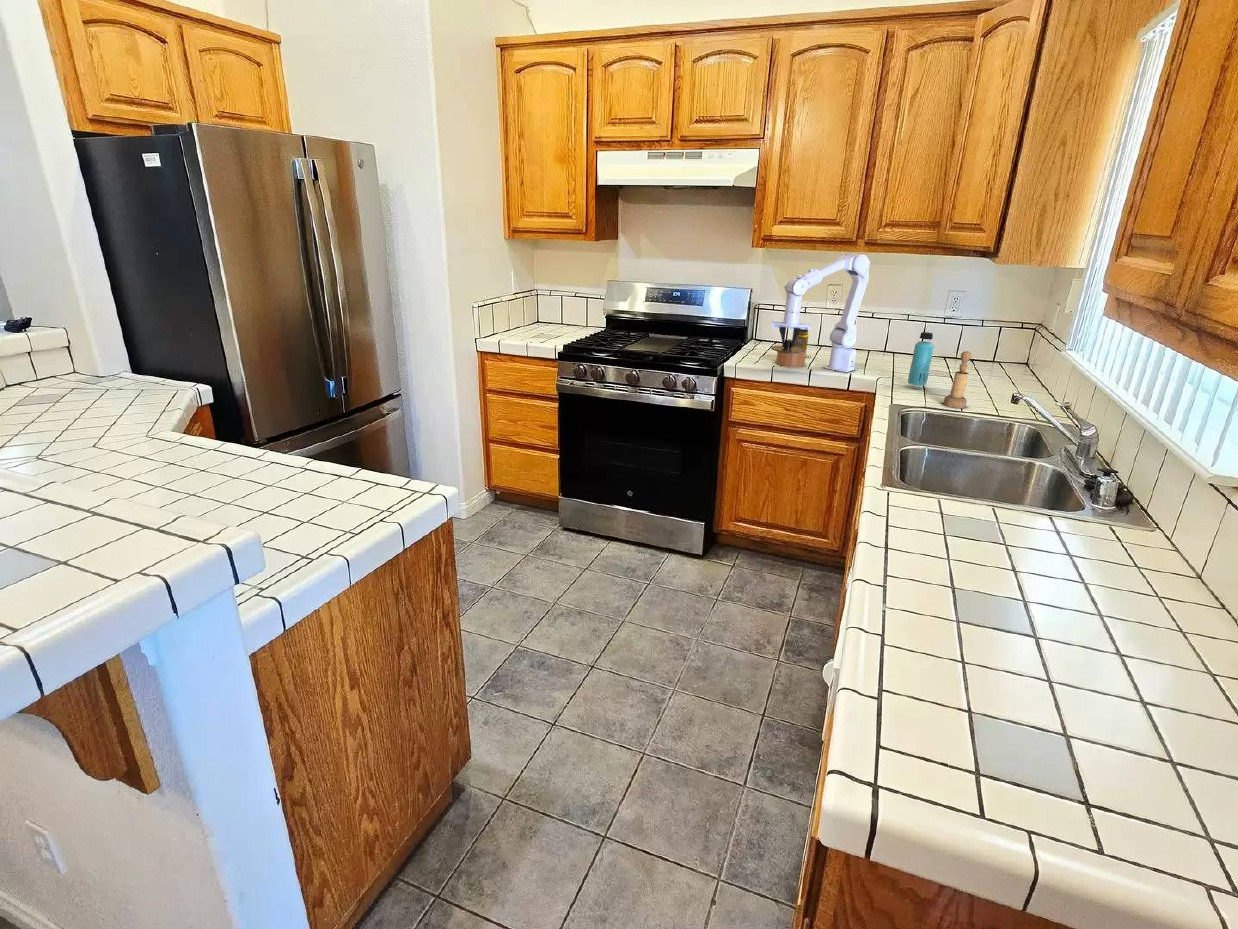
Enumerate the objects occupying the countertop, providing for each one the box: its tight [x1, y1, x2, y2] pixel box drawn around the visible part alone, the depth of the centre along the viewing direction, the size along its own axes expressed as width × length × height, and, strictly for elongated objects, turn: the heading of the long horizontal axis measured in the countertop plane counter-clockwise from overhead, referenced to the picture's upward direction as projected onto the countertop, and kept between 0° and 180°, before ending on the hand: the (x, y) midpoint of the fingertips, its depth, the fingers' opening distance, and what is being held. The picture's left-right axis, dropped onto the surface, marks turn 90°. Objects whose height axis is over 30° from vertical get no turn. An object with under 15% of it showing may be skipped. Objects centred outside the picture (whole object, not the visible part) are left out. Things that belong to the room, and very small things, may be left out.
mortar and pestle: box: [943, 351, 972, 409], centre depth 212 cm, size 7×6×18 cm
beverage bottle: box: [907, 331, 935, 387], centre depth 232 cm, size 6×7×20 cm
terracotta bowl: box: [775, 349, 807, 368], centre depth 265 cm, size 11×11×6 cm
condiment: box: [793, 329, 810, 358], centre depth 278 cm, size 7×8×12 cm
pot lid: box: [770, 338, 803, 354], centre depth 251 cm, size 12×12×4 cm
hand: (787, 347), depth 251 cm, fingers closed on pot lid, 2 cm apart
